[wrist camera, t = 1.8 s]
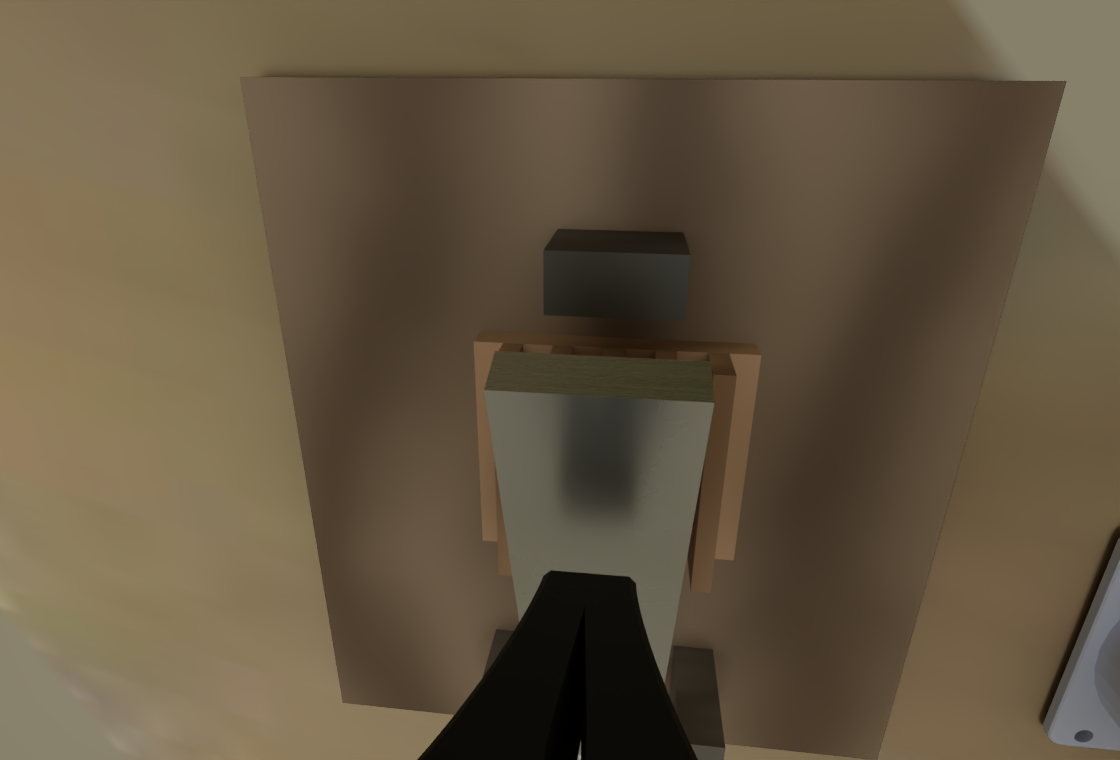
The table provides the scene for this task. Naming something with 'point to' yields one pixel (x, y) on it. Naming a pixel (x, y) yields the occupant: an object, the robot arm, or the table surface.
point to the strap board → (647, 353)
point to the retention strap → (601, 471)
